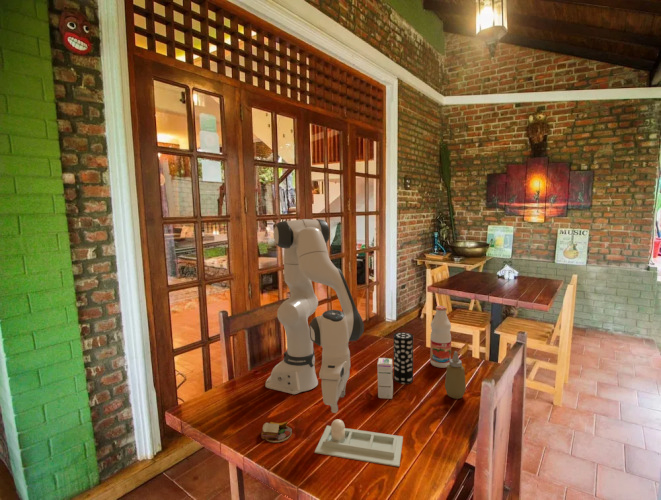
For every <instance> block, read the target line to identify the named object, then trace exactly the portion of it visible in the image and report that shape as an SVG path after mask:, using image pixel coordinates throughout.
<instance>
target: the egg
mask: <svg viewBox="0 0 661 500" xmlns="http://www.w3.org/2000/svg"><path fill="white" fill-rule="evenodd" d="M330 426H331V440H332V441H333V442H339V443H344V442H345V428H346V426H345V423H344V421H343V420H342V419H341V418H340V419H338V418H337V419H334V420H333V421H332V422H331V425H330Z"/></svg>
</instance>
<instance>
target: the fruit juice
mask: <svg viewBox="0 0 661 500" xmlns="http://www.w3.org/2000/svg"><path fill="white" fill-rule="evenodd" d="M447 310H448V309H447V307H446V306H444V305H436V306H435V314H434V317H433V319H432V321H431V322H430V327H431V331H430V332H431V333H430V347H429V348H430V352H429V353H430V354H429V355H430V359H429V360H430V364H431V365H432V366H433V367H437V368H443V369H444V368H447V365H449V362H450V359H452V335H451V328H452V324H451V322H450V319H449V317H448V315H447Z"/></svg>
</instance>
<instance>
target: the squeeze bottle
mask: <svg viewBox="0 0 661 500" xmlns="http://www.w3.org/2000/svg"><path fill="white" fill-rule="evenodd" d="M458 353H459V352H458V351H454V352H453V355H452V358H451V359H450V362H449V365H447V367H446V372H445V382H444V388H445V392H446V395H447V396H448V397H450V398H452V399H458V400H459V399H462V398H463V397H464V395H465V392H466V389H467V388H466V375H465V367H464V366H463V363H462V360H461V359H460V358H459V354H458Z"/></svg>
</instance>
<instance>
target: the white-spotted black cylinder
mask: <svg viewBox="0 0 661 500" xmlns="http://www.w3.org/2000/svg"><path fill="white" fill-rule="evenodd" d="M413 381H414V334H412V333H409V332H403V331H400V332H396V333H394V334H393V382H396V383H398V384H401V385H409V384H412V383H413Z"/></svg>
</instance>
